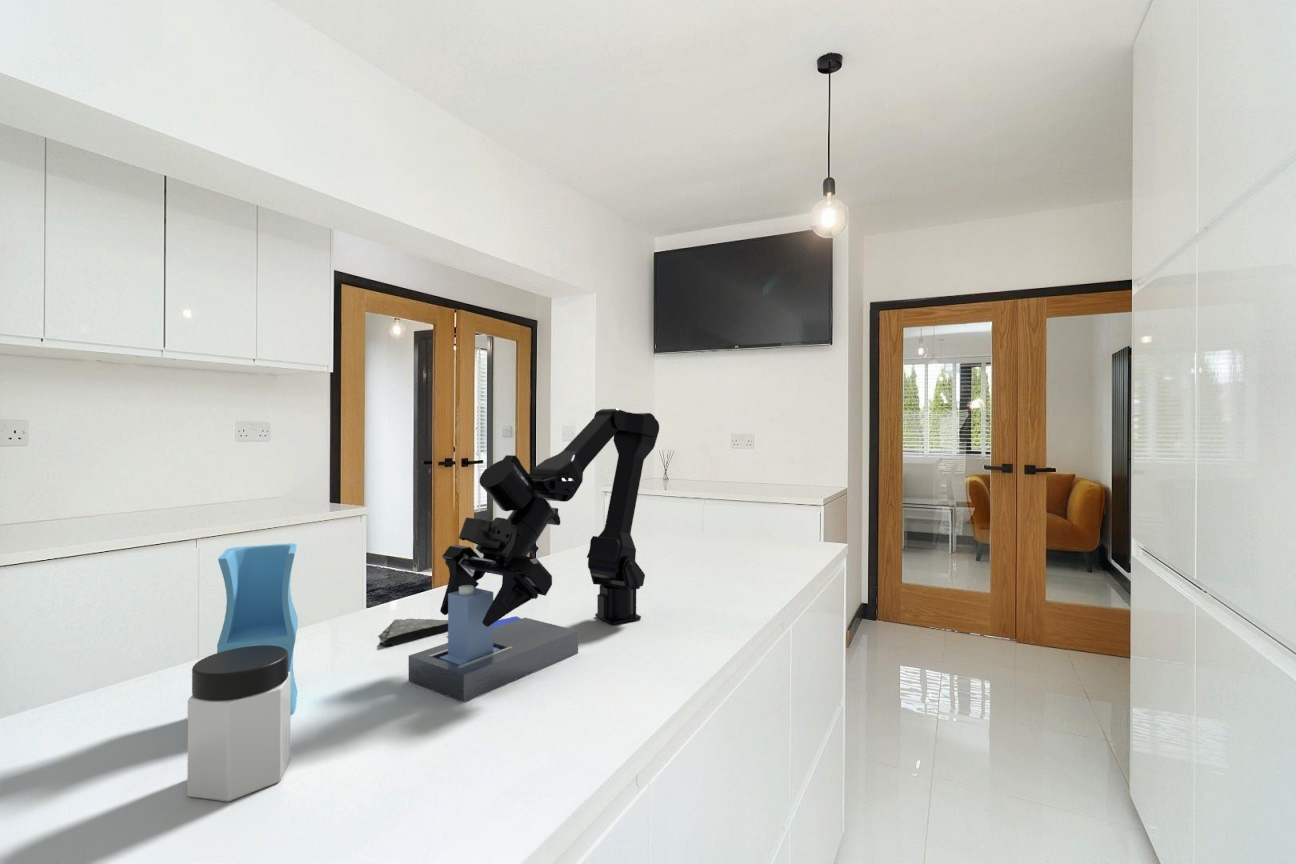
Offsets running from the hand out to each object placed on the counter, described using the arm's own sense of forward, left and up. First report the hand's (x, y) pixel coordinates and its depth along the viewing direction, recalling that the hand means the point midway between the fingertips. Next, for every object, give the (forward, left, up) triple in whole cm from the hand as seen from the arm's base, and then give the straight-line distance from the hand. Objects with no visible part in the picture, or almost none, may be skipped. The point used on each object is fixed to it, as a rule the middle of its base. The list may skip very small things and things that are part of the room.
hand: (463, 619), depth 87 cm
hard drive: (-11, -17, -9) cm, 23 cm away
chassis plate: (-6, -2, -9) cm, 11 cm away
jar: (+26, +12, -9) cm, 30 cm away
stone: (+1, -26, -9) cm, 28 cm away
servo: (-1, -1, -9) cm, 9 cm away
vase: (+24, -5, -9) cm, 26 cm away
